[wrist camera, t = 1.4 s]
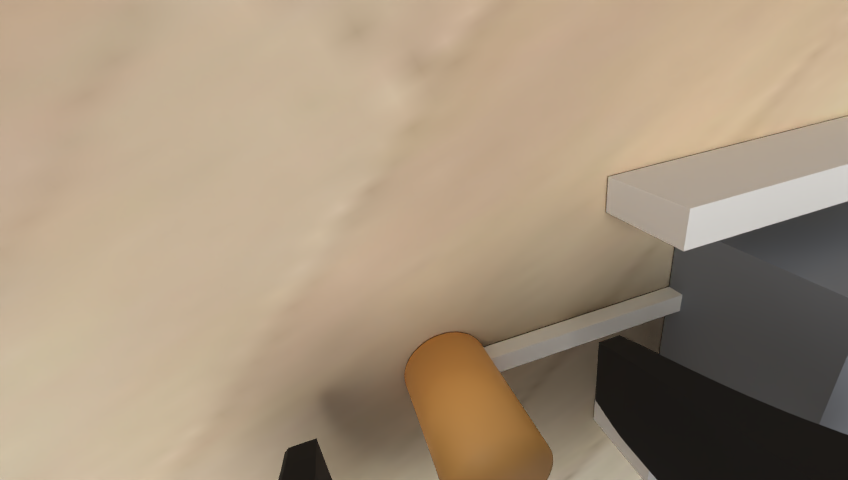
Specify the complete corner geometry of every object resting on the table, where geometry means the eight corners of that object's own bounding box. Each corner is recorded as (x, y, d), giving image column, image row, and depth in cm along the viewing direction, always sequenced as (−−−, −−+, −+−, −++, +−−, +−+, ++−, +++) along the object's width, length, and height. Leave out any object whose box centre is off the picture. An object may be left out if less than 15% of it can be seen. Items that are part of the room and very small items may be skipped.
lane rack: (766, 465, 20) (824, 515, 18) (586, 545, 18) (626, 613, 16) (1026, -275, 9) (1261, -379, 7) (634, -270, 7) (789, -414, 5)
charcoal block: (773, 313, 15) (941, 404, 11) (418, 442, 13) (477, 619, 9) (810, 184, 13) (1035, 242, 9) (389, 308, 10) (450, 465, 6)
